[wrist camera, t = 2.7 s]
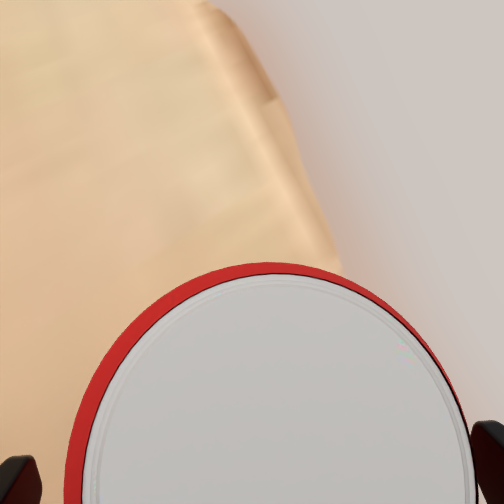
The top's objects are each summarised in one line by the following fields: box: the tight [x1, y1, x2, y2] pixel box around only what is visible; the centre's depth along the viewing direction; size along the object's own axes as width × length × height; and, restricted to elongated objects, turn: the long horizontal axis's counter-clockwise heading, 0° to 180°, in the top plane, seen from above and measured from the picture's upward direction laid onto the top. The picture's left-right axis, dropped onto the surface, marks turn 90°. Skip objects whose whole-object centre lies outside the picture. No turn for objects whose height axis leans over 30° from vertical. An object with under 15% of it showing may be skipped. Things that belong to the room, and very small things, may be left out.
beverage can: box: [64, 262, 479, 504], centre depth 10 cm, size 6×6×12 cm
